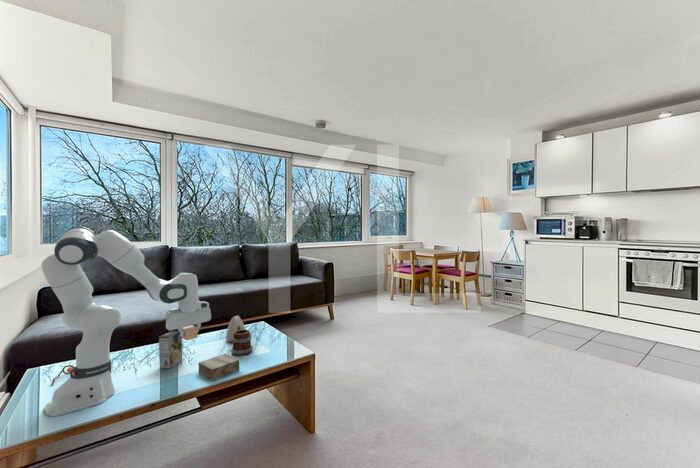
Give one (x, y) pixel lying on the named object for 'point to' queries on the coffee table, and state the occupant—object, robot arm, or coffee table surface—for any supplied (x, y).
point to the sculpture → (234, 327)
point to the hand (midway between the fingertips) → (189, 334)
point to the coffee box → (170, 349)
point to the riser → (218, 366)
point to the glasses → (61, 372)
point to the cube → (190, 332)
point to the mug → (241, 342)
